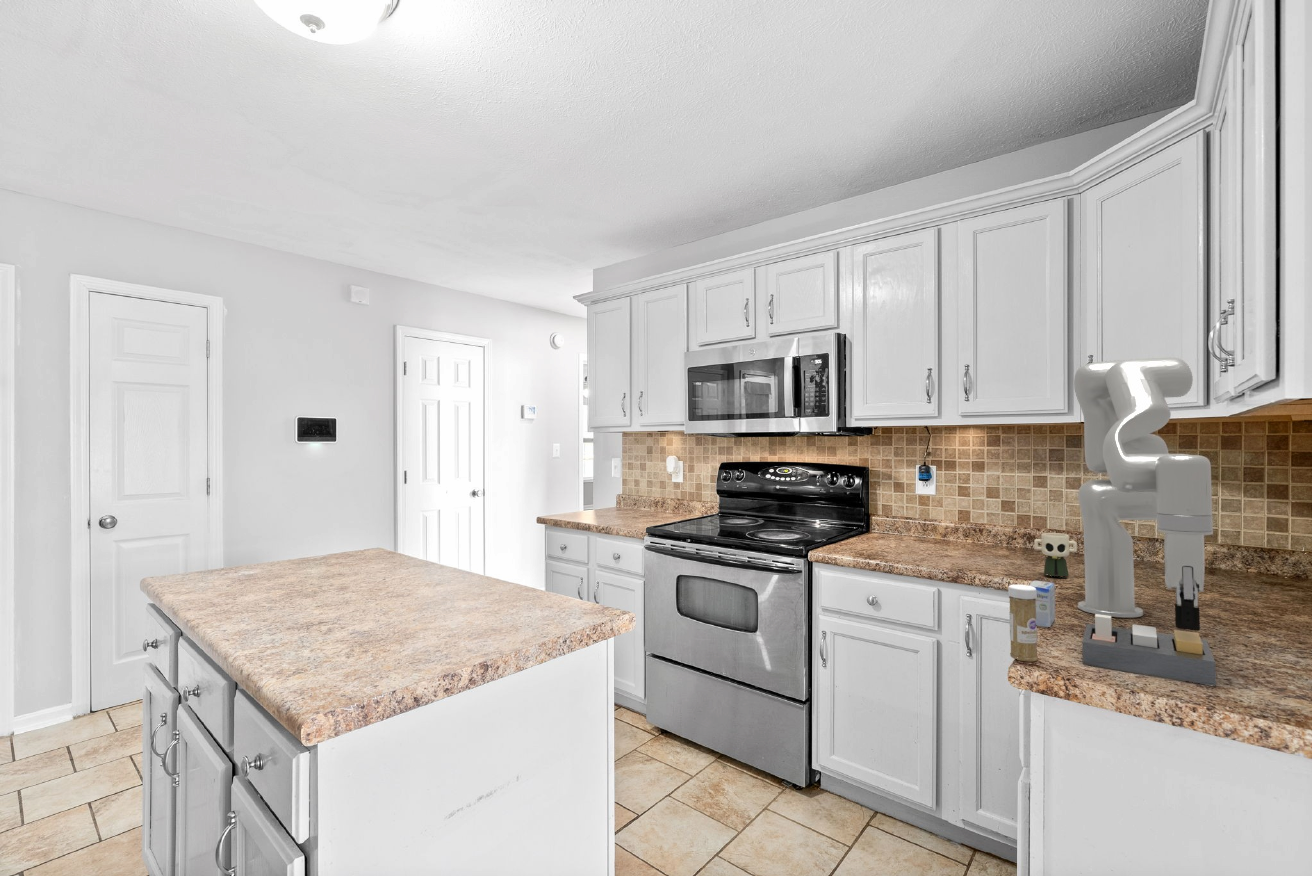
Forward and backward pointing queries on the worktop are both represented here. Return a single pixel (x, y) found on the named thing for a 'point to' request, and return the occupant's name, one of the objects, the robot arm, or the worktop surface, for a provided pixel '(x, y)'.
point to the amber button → (1188, 642)
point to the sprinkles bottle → (1023, 622)
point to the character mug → (1055, 552)
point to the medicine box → (1044, 603)
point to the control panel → (1149, 657)
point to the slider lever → (1103, 628)
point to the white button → (1144, 636)
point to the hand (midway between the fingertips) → (1187, 628)
